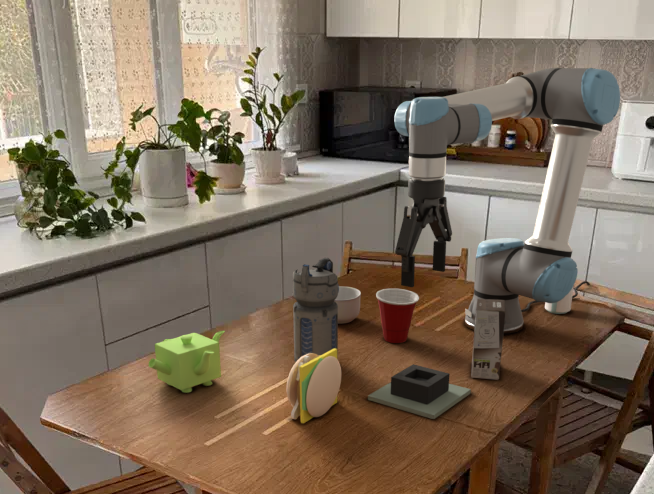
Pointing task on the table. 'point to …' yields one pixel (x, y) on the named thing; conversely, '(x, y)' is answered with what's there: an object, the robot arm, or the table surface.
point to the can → (560, 304)
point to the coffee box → (488, 338)
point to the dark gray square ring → (420, 384)
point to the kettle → (188, 360)
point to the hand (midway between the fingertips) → (423, 278)
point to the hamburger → (313, 385)
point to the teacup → (348, 304)
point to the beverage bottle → (315, 309)
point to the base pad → (419, 408)
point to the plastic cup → (396, 313)
